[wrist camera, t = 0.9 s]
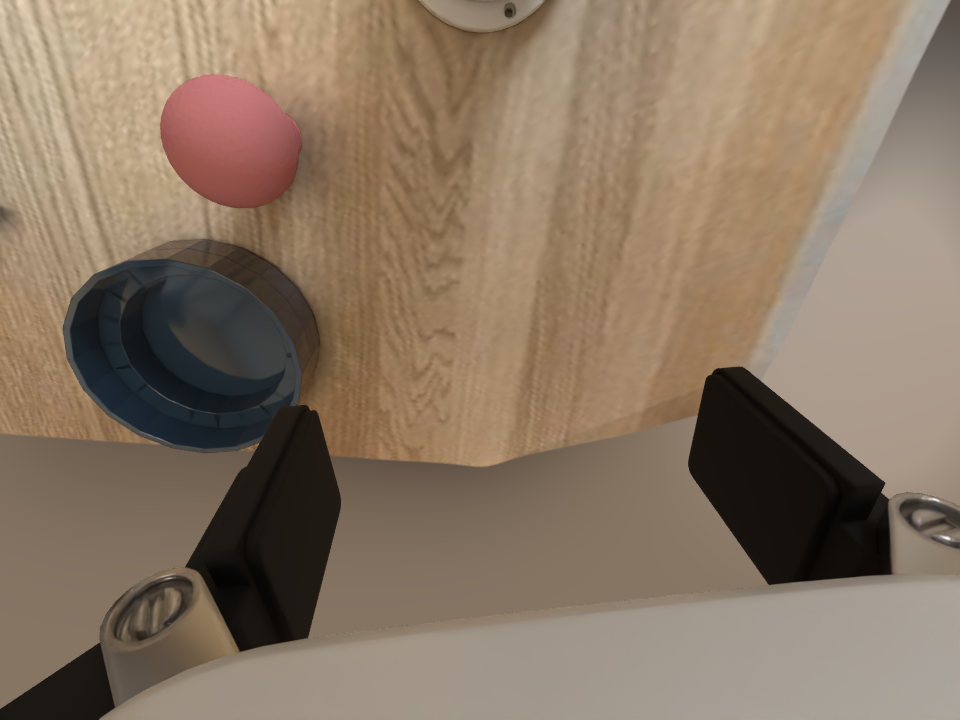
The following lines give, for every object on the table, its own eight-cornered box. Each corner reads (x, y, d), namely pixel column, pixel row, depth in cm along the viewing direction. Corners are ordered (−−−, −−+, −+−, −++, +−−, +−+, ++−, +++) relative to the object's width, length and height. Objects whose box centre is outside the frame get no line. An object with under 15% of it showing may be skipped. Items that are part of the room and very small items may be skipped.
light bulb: (247, 194, 36) (166, 225, 25) (213, 90, 33) (105, 75, 22) (336, 184, 36) (293, 210, 25) (312, 80, 33) (252, 60, 22)
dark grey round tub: (72, 281, 38) (7, 310, 32) (252, 207, 36) (217, 222, 31) (199, 432, 46) (165, 476, 40) (352, 376, 44) (339, 414, 38)
